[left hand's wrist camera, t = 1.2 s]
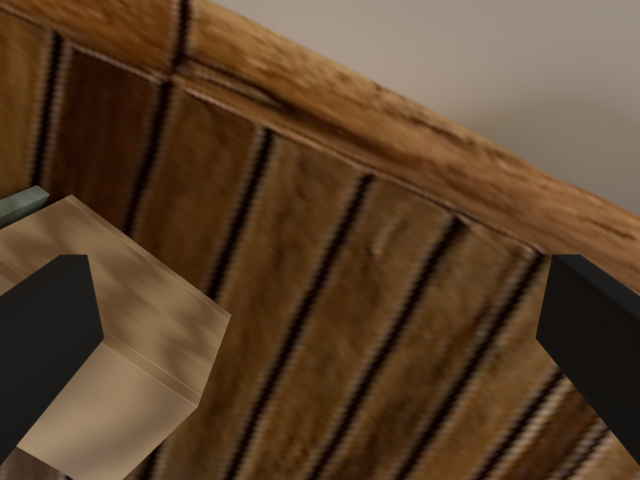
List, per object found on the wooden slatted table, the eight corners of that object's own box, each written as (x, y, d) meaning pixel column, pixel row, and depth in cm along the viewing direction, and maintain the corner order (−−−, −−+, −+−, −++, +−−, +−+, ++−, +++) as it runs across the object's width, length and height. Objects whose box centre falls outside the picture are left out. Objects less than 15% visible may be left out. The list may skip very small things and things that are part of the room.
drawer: (-84, 229, 37) (-223, 283, 27) (-27, 137, 34) (-160, 162, 25) (130, 371, 42) (75, 457, 33) (194, 301, 39) (154, 373, 30)
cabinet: (4, 284, 40) (-120, 368, 29) (71, 193, 37) (-39, 248, 25) (160, 388, 44) (104, 497, 33) (231, 314, 41) (197, 407, 30)
